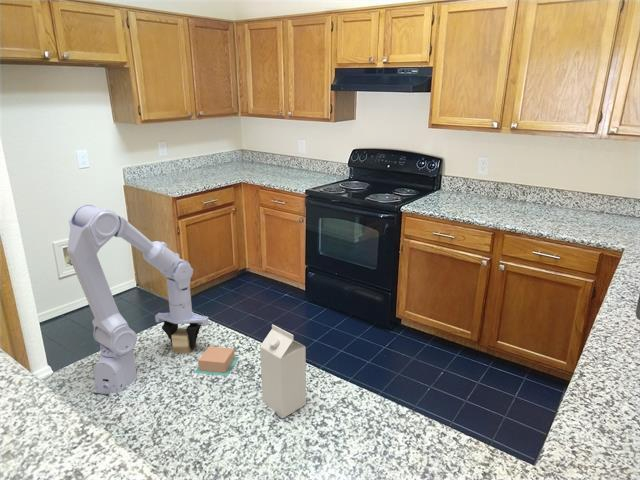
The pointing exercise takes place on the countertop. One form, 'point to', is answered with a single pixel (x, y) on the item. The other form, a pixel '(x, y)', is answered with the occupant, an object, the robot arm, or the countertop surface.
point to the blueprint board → (219, 373)
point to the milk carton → (283, 372)
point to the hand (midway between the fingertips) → (184, 346)
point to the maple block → (181, 341)
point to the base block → (216, 359)
